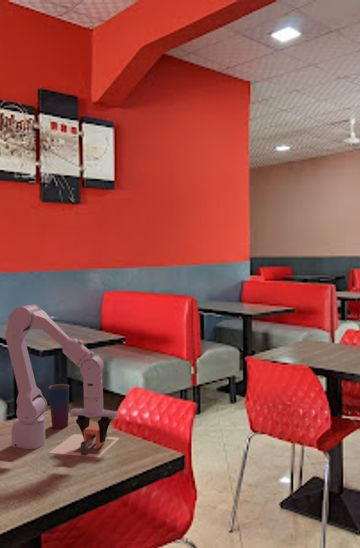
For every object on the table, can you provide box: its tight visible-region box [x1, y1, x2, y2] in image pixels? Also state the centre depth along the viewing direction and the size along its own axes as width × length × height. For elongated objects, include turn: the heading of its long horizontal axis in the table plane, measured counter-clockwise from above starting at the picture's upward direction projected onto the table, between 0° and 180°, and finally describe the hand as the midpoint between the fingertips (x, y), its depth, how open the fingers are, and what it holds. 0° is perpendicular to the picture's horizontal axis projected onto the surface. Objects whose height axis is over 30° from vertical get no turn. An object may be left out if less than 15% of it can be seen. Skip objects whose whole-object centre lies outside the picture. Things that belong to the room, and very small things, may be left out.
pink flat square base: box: [48, 431, 121, 458], centre depth 161 cm, size 16×16×5 cm
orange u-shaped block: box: [84, 424, 106, 449], centre depth 160 cm, size 5×5×5 cm
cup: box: [48, 383, 70, 430], centre depth 178 cm, size 7×7×15 cm
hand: (94, 441), depth 160 cm, fingers closed on orange u-shaped block, 5 cm apart
